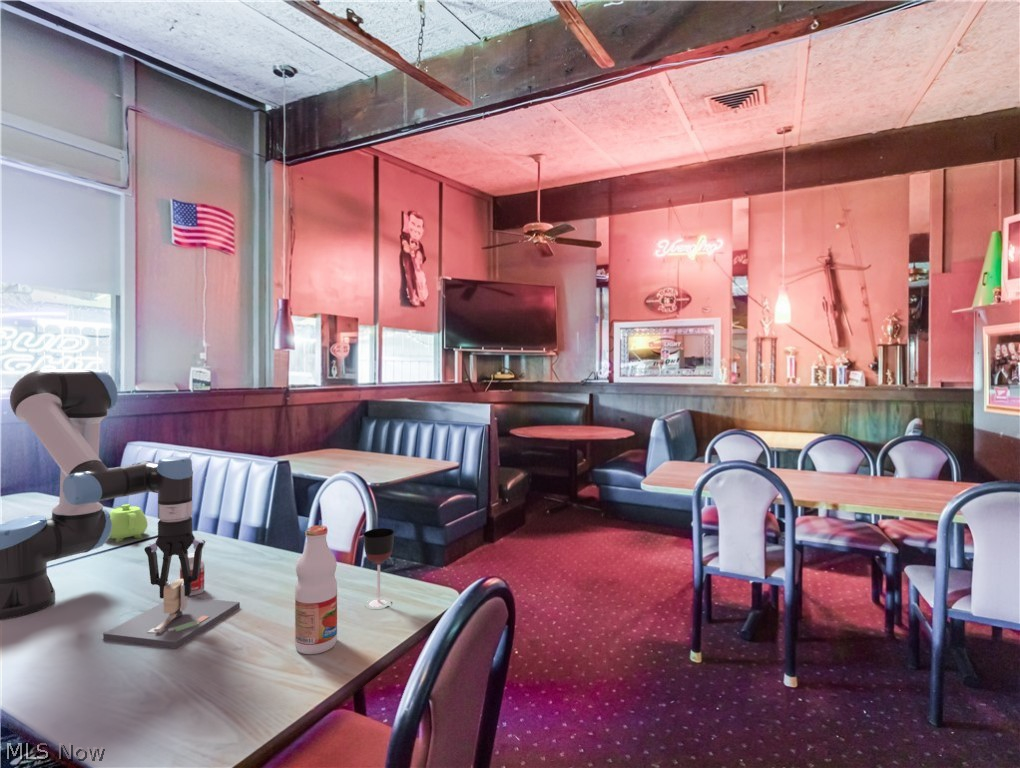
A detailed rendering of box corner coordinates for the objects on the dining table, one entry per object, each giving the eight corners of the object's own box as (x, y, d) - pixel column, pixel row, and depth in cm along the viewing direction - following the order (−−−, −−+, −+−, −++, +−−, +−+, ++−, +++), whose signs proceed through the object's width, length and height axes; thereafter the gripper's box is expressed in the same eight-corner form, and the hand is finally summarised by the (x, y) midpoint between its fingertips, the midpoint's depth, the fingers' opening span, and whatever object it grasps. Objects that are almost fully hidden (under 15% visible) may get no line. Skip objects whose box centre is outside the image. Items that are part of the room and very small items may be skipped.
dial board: (103, 639, 129) (103, 632, 129) (176, 601, 150) (176, 595, 150) (175, 648, 125) (175, 641, 125) (239, 607, 147) (239, 601, 147)
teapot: (97, 536, 207) (96, 503, 207) (137, 528, 217) (137, 497, 217) (113, 547, 194) (112, 512, 194) (155, 538, 205) (155, 505, 204)
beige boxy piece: (176, 609, 141) (176, 578, 141) (188, 609, 141) (188, 578, 141) (150, 633, 129) (150, 599, 128) (163, 632, 129) (163, 598, 129)
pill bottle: (205, 593, 155) (205, 556, 155) (180, 598, 152) (180, 560, 152) (203, 586, 160) (203, 549, 160) (179, 591, 157) (179, 553, 157)
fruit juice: (298, 637, 131) (298, 523, 130) (338, 633, 133) (339, 521, 132) (291, 657, 122) (291, 535, 121) (335, 653, 124) (335, 532, 123)
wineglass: (399, 600, 152) (400, 530, 152) (380, 612, 144) (380, 539, 144) (377, 595, 156) (377, 526, 155) (356, 607, 148) (357, 535, 147)
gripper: (133, 524, 131) (133, 619, 132) (207, 520, 136) (207, 611, 136) (144, 516, 138) (144, 606, 139) (214, 512, 143) (214, 599, 143)
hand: (175, 608), depth 138 cm, fingers closed on beige boxy piece, 3 cm apart
